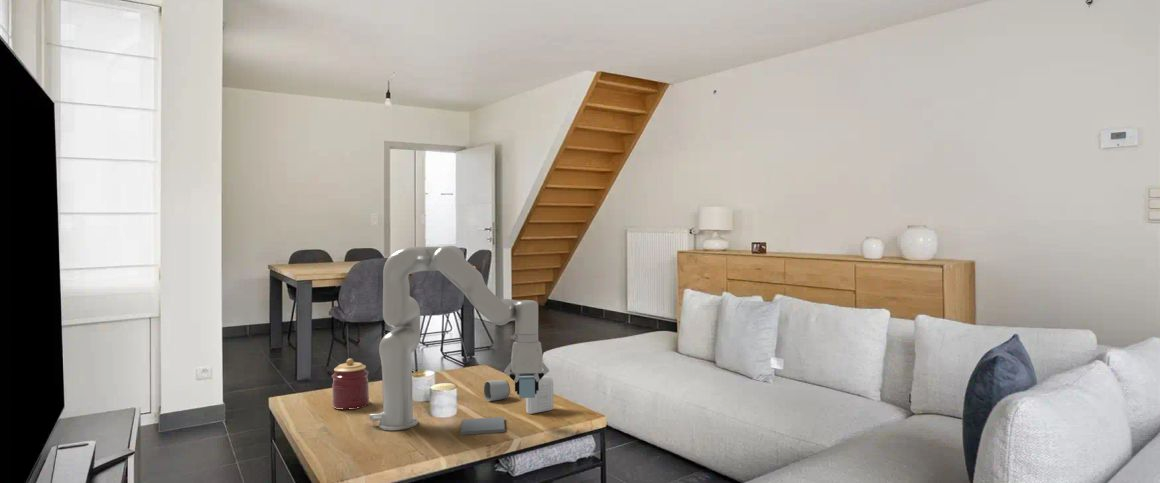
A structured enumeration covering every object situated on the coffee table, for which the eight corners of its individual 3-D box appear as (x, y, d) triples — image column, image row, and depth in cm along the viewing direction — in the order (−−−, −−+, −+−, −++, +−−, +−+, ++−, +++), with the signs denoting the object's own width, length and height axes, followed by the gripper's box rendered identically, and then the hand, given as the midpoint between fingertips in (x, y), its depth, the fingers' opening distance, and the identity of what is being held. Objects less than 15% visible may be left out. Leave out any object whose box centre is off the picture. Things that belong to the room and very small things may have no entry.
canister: (373, 406, 232) (372, 359, 232) (337, 412, 225) (335, 364, 225) (364, 398, 243) (362, 353, 243) (328, 404, 236) (327, 358, 235)
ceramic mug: (511, 399, 238) (511, 379, 238) (492, 403, 233) (491, 383, 233) (499, 394, 246) (498, 375, 246) (479, 398, 242) (479, 378, 242)
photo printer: (549, 407, 227) (548, 373, 227) (555, 410, 223) (554, 375, 223) (524, 412, 221) (523, 377, 221) (530, 415, 218) (529, 379, 217)
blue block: (519, 398, 203) (519, 379, 203) (518, 394, 208) (518, 376, 208) (534, 397, 203) (534, 379, 203) (533, 393, 208) (533, 375, 208)
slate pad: (460, 434, 198) (460, 431, 198) (462, 422, 211) (461, 419, 211) (504, 432, 200) (504, 428, 200) (503, 419, 213) (503, 416, 213)
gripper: (500, 340, 200) (500, 397, 201) (553, 339, 203) (553, 395, 203) (500, 336, 208) (500, 391, 208) (551, 335, 210) (551, 389, 211)
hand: (526, 392), depth 206 cm, fingers closed on blue block, 5 cm apart
